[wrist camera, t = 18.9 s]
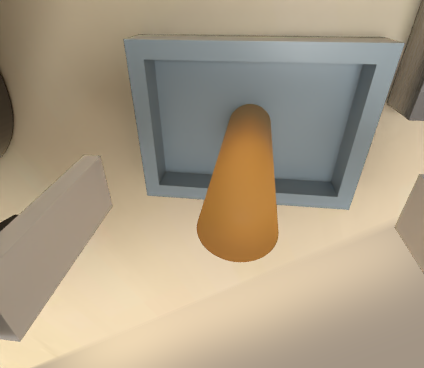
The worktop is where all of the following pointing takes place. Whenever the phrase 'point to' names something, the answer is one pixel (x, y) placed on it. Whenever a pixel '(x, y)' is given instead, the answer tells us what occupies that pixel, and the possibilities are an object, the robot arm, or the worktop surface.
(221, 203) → the pin
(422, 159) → the worktop surface
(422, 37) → the pin socket
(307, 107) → the tray
